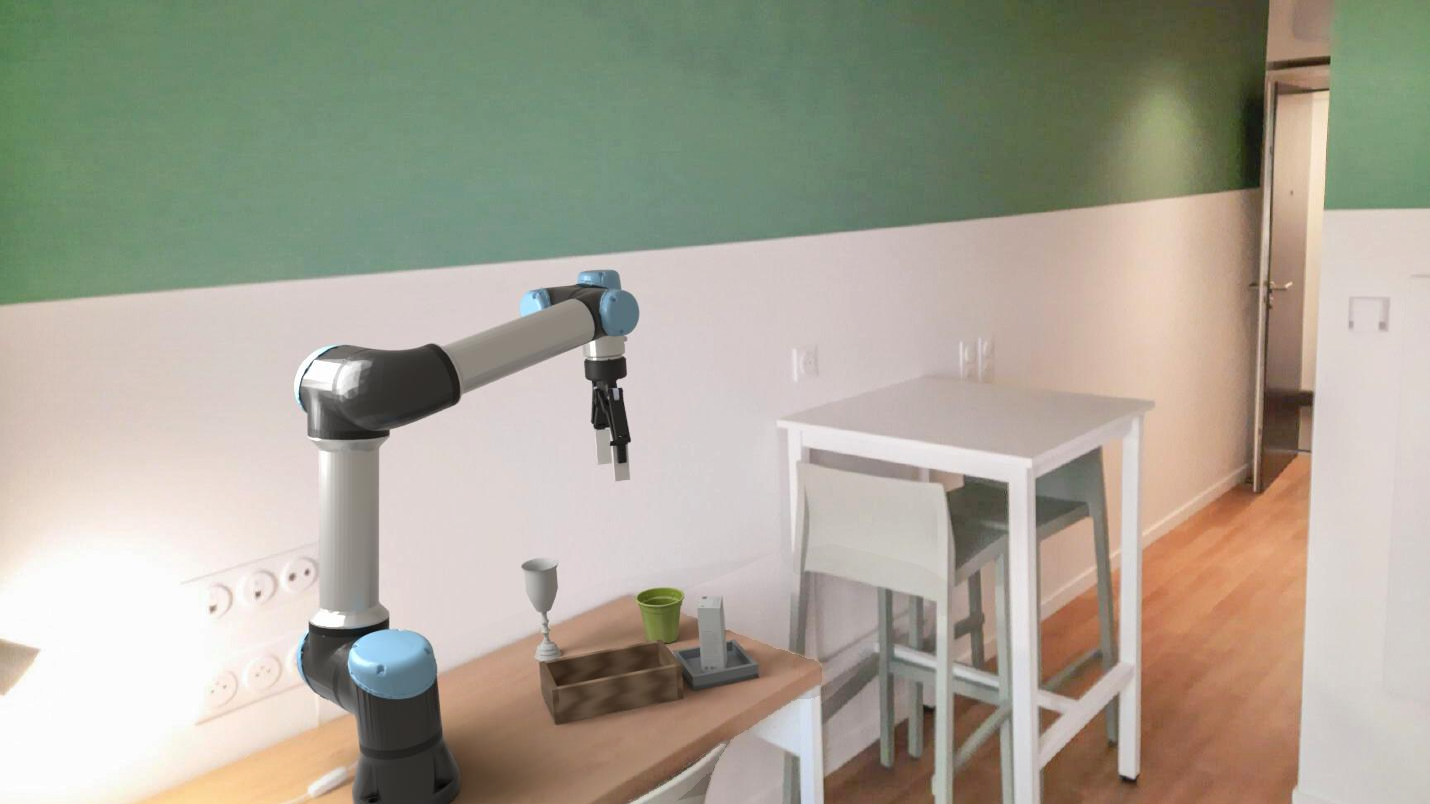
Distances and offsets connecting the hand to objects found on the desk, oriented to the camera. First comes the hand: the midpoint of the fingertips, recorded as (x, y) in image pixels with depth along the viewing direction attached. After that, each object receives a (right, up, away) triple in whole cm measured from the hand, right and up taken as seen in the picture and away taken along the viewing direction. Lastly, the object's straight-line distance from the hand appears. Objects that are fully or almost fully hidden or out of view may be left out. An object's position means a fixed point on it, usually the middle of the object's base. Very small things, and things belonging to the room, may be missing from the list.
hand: (613, 471), depth 198 cm
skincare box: (+19, -35, -4) cm, 39 cm away
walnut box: (+1, -38, -12) cm, 40 cm away
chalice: (-13, -35, +6) cm, 38 cm away
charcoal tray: (+19, -35, -4) cm, 40 cm away
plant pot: (+9, -33, +11) cm, 36 cm away
